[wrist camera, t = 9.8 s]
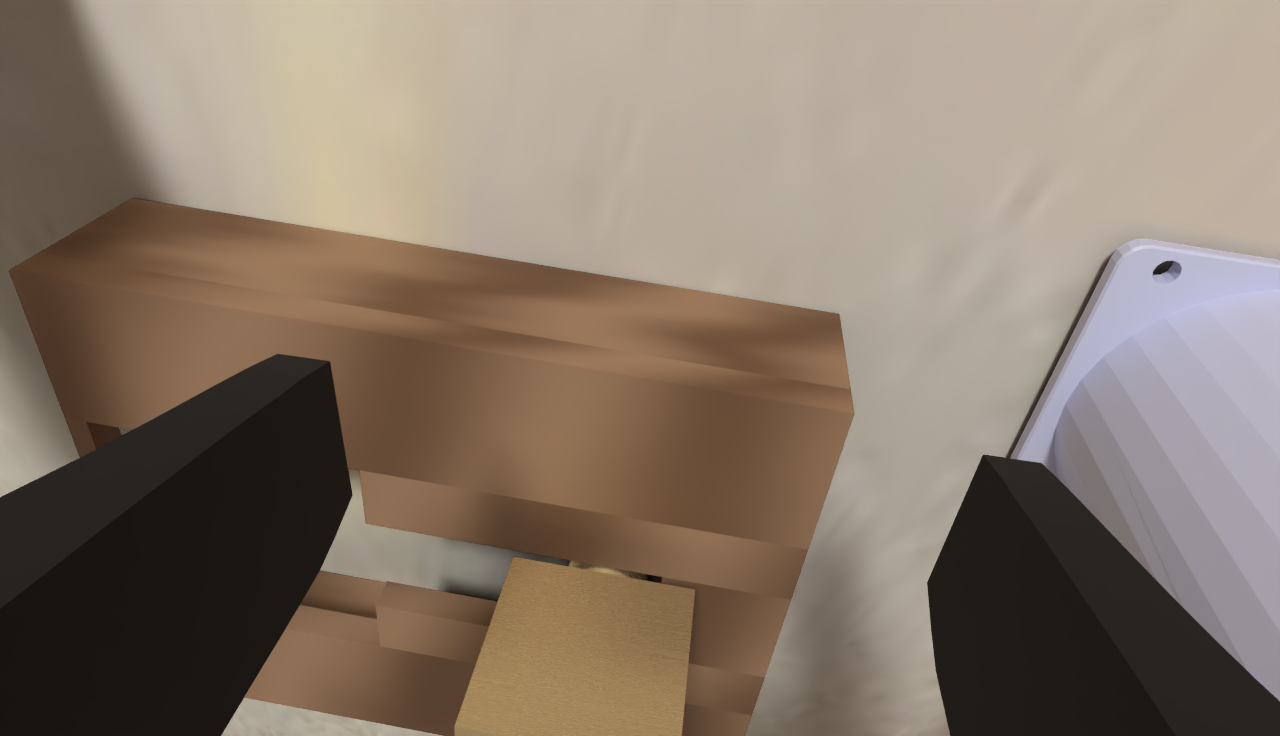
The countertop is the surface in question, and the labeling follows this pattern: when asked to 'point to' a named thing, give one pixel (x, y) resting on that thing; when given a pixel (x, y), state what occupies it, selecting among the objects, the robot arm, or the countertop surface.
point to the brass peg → (581, 655)
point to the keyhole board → (474, 429)
